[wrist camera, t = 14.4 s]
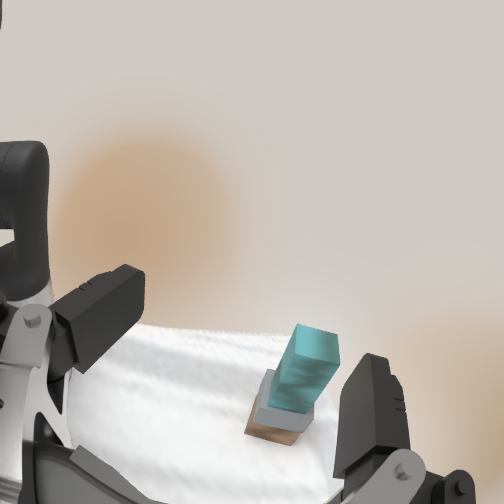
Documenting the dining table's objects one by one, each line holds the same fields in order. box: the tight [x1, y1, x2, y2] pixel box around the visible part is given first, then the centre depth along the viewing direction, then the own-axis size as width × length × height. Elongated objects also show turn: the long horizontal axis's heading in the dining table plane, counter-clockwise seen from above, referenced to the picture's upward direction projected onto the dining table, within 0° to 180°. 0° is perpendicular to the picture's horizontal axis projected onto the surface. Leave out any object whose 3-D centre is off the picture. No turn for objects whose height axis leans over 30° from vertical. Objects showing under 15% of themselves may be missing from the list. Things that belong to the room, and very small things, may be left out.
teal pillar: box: [267, 324, 340, 414], centre depth 30 cm, size 5×5×10 cm
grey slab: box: [252, 369, 314, 433], centre depth 33 cm, size 7×7×4 cm
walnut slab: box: [244, 393, 300, 446], centre depth 35 cm, size 7×7×4 cm
